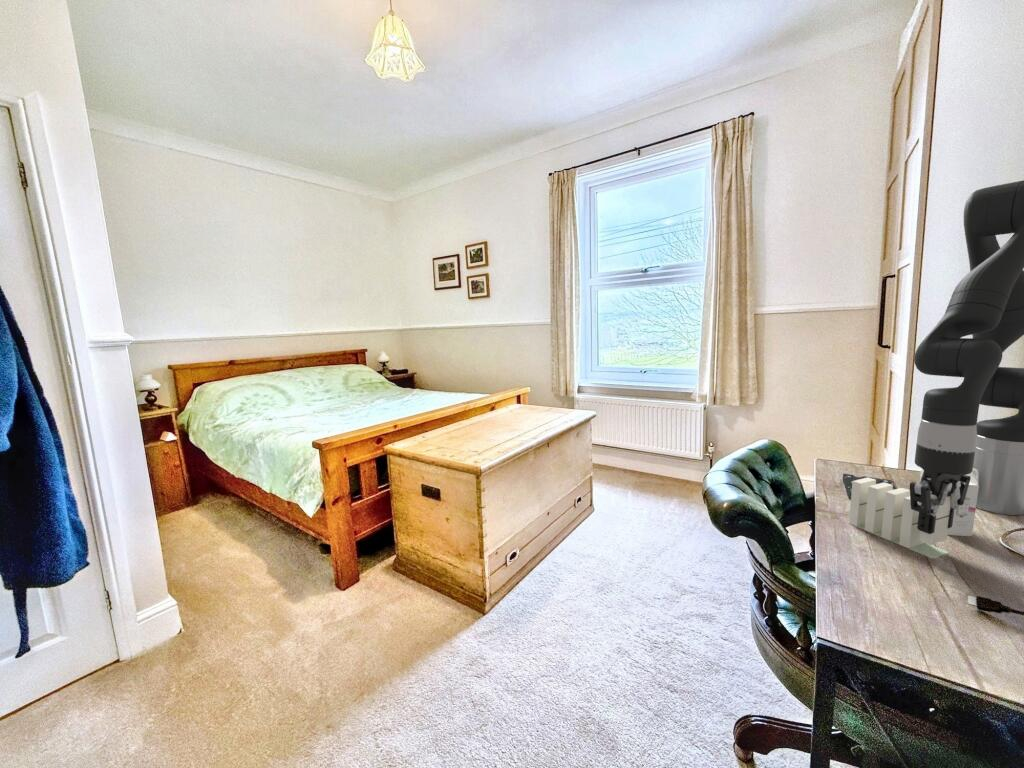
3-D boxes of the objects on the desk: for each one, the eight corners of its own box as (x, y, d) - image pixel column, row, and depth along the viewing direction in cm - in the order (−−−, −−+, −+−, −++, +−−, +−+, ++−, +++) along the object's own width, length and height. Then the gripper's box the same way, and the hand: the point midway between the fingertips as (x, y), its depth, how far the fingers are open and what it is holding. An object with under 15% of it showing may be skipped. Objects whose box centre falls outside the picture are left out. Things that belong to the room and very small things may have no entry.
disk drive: (841, 482, 114) (848, 502, 102) (841, 473, 113) (849, 492, 101) (890, 489, 108) (904, 511, 96) (891, 479, 108) (905, 500, 95)
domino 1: (864, 518, 92) (868, 477, 90) (872, 522, 90) (876, 480, 89) (848, 523, 90) (852, 481, 89) (857, 526, 89) (860, 483, 87)
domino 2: (879, 525, 89) (884, 482, 87) (888, 528, 87) (893, 485, 86) (864, 529, 87) (868, 486, 86) (873, 533, 86) (877, 489, 84)
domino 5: (935, 535, 80) (941, 488, 78) (946, 539, 78) (952, 491, 77) (919, 540, 78) (925, 492, 77) (930, 545, 77) (936, 495, 75)
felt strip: (862, 519, 92) (862, 517, 92) (949, 554, 78) (949, 552, 78) (846, 524, 91) (846, 522, 91) (932, 560, 77) (932, 558, 77)
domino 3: (896, 531, 86) (901, 487, 85) (906, 535, 85) (911, 490, 83) (881, 536, 85) (885, 491, 83) (890, 540, 83) (895, 494, 81)
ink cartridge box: (913, 517, 92) (920, 456, 90) (939, 518, 91) (947, 456, 89) (944, 536, 84) (953, 470, 82) (973, 538, 83) (983, 470, 81)
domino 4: (915, 538, 83) (920, 493, 82) (925, 542, 82) (930, 496, 80) (899, 544, 82) (904, 497, 80) (909, 548, 80) (914, 501, 79)
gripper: (948, 456, 70) (936, 546, 72) (996, 445, 74) (983, 530, 77) (895, 444, 77) (886, 527, 79) (942, 434, 81) (932, 513, 84)
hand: (934, 528), depth 78 cm, fingers closed on domino 5, 5 cm apart
